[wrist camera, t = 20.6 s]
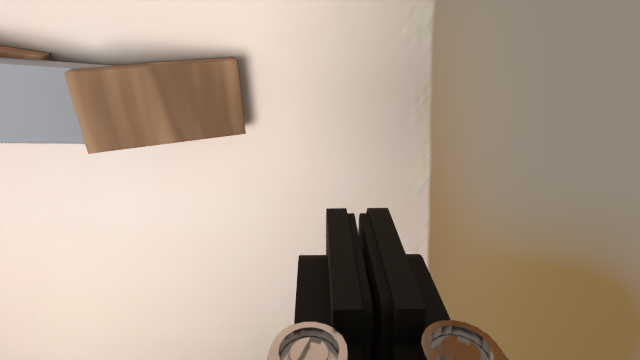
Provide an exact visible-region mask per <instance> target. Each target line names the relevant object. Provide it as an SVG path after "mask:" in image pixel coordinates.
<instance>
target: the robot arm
mask: <svg viewBox="0 0 640 360" xmlns="http://www.w3.org/2000/svg"><path fill="white" fill-rule="evenodd" d="M267 360H509V359H508V358H507V357H506V355H505V354H504V353H503V351H502V350H501V349H500V347H499V346H498V345H497V343H496V342H495V341H494V340H493V339H492V338H491V337H490V336H489V335H488V334H487V333H485V332H483V331H482V330H481V329H479V328H478V327H475V326H473V325H470V324H468V323H465V322H460V321H455V320H450V318H449V315H448V313H447V311H446V309H445V307H444V305H443V302H442V300H441V298H440V295H439V293H438V291H437V289H436V286H435V284H434V282H433V280H432V278H431V275H430V273H429V271H428V269H427V266H426V264H425V262H424V260H423V258H422V256H421V255H419V254H405V251H404V249H403V246H402V244H401V241H400V238H399V236H398V233H397V231H396V228H395V225H394V223H393V220H392V218H391V215H390V212H389V210H388V208H367V212H366V213H360V215H359V235H358V230H357V225H356V220H355V215H354V213H351V214H347V210H346V208H337V209H327V211H326V255H299V261H298V276H297V291H296V306H295V321H294V325H291V326H290V327H288V328H286V329H284V330H283V331H282V332H281V333H280V334H279V335H278V336H276V338H275V340H274V342H273V343H272V345H271V348H270V351H269V354H268V357H267Z"/></svg>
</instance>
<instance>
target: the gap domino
mask: <svg viewBox="0 0 640 360" xmlns="http://www.w3.org/2000/svg"><path fill="white" fill-rule="evenodd" d="M100 66H113V65H99V64H85V63H71V62H57V61H43V60H29V59H15V58H1V57H0V143H66V144H85V141H84V138H83V135H82V131H81V128H80V125H79V122H78V118H77V115H76V112H75V108H74V105H73V102H72V99H71V95H70V92H69V89H68V86H67V82H66V79H65V76H64V73H65V72H67V71H69V70H70V69H72V68H86V67H100Z"/></svg>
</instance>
